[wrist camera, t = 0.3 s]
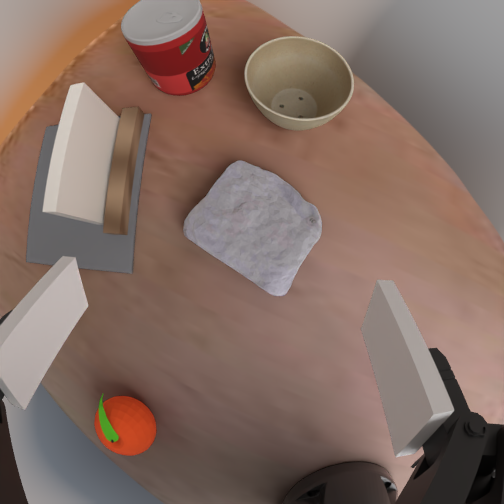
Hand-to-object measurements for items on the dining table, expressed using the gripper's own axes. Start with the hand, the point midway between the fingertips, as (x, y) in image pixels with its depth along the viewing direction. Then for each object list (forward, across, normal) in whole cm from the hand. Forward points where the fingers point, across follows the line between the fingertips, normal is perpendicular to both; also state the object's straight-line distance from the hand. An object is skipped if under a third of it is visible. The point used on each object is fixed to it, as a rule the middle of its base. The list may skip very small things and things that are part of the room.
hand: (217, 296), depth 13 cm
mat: (+20, +20, +2) cm, 28 cm away
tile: (+21, +16, 0) cm, 26 cm away
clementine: (+8, +11, +24) cm, 28 cm away
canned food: (+28, +9, -11) cm, 31 cm away
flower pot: (+25, -4, -6) cm, 27 cm away
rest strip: (+21, +13, 0) cm, 25 cm away
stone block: (+19, -1, +5) cm, 20 cm away
